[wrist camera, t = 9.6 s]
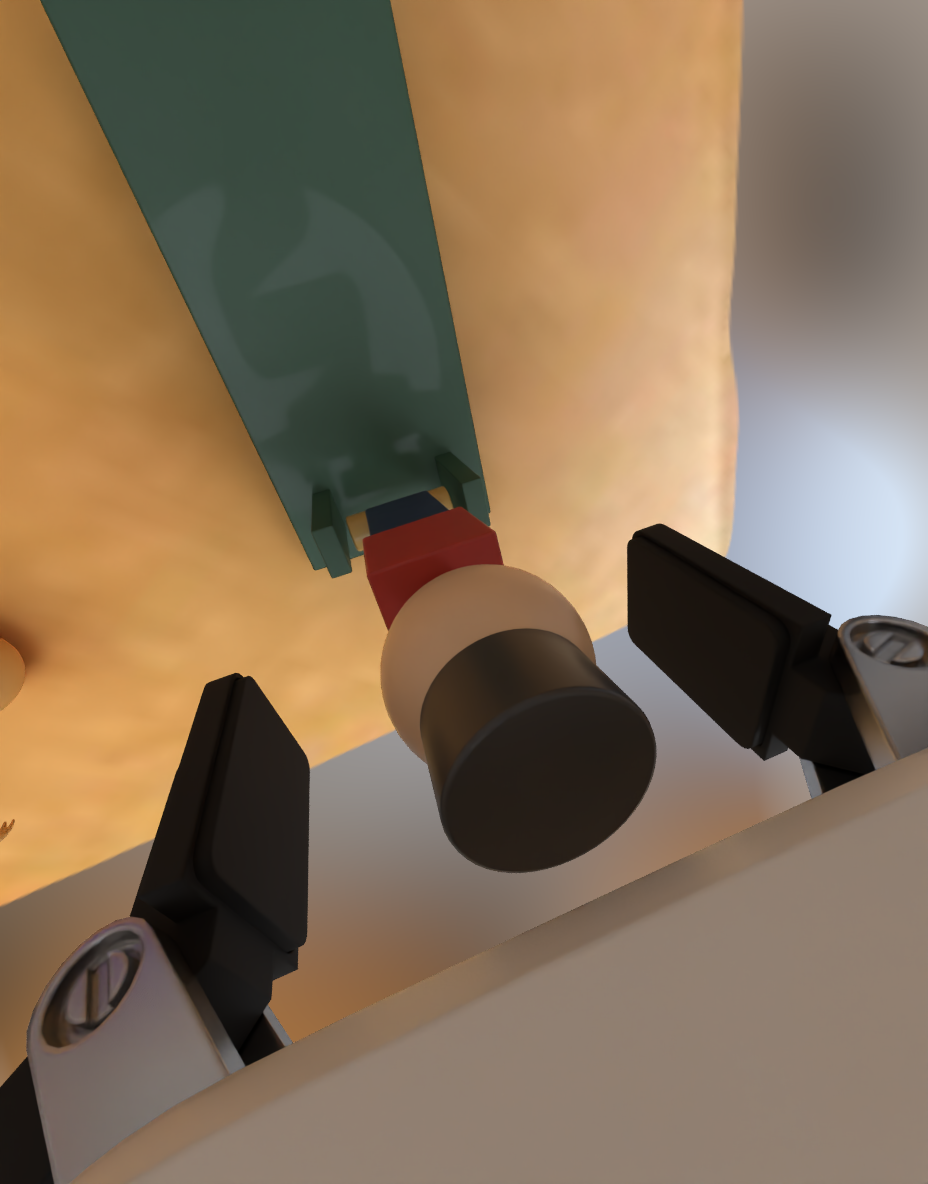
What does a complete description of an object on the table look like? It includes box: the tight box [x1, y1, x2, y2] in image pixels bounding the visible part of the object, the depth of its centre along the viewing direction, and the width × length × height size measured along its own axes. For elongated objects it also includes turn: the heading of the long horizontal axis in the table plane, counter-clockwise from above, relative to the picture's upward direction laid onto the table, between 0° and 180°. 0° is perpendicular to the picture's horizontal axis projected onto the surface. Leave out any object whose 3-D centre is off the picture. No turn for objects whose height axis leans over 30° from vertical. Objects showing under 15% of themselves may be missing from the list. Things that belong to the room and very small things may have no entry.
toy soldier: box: [346, 486, 656, 873], centre depth 11 cm, size 14×4×3 cm
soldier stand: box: [40, 0, 490, 578], centre depth 15 cm, size 18×9×6 cm, turn 12°
